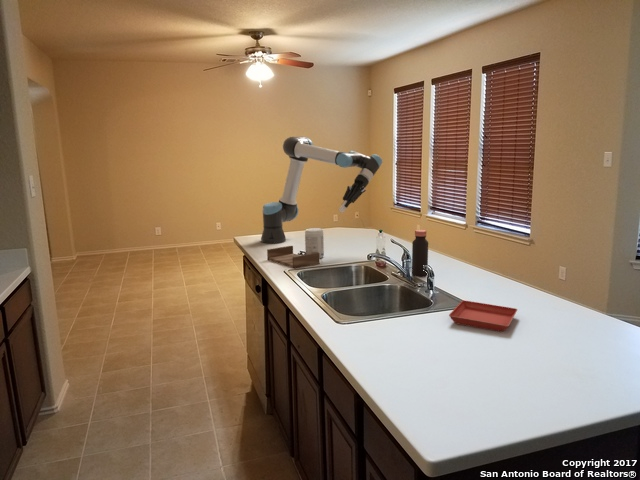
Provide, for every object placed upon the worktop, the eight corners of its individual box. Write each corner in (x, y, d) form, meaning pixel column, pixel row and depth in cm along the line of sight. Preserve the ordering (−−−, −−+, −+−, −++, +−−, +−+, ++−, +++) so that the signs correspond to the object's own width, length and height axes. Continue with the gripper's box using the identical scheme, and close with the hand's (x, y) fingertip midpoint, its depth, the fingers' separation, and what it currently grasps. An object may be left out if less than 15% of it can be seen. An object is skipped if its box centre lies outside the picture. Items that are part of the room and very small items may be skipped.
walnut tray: (267, 259, 242) (267, 249, 241) (291, 255, 251) (291, 245, 250) (294, 268, 223) (294, 257, 222) (319, 263, 233) (319, 252, 232)
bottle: (409, 276, 208) (410, 231, 204) (414, 272, 214) (415, 228, 210) (424, 277, 205) (426, 232, 201) (429, 274, 211) (430, 230, 207)
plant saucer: (517, 317, 157) (518, 308, 156) (508, 335, 141) (508, 325, 141) (462, 308, 166) (462, 299, 165) (447, 325, 151) (448, 315, 150)
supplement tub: (316, 254, 253) (315, 227, 251) (327, 257, 246) (327, 229, 243) (301, 257, 247) (301, 229, 245) (313, 260, 240) (312, 231, 237)
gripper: (375, 183, 258) (352, 216, 251) (358, 182, 268) (336, 214, 261) (368, 174, 253) (344, 207, 246) (352, 173, 264) (329, 205, 257)
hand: (340, 211), depth 254 cm, fingers closed
